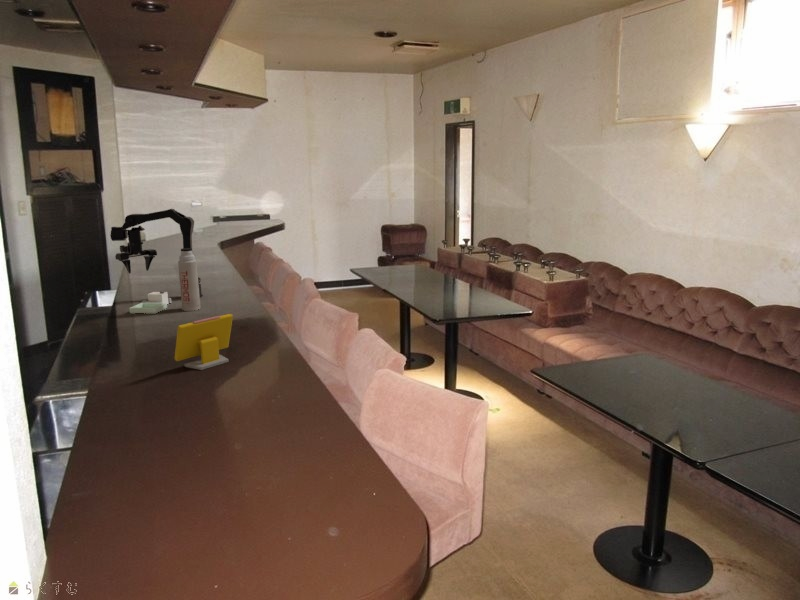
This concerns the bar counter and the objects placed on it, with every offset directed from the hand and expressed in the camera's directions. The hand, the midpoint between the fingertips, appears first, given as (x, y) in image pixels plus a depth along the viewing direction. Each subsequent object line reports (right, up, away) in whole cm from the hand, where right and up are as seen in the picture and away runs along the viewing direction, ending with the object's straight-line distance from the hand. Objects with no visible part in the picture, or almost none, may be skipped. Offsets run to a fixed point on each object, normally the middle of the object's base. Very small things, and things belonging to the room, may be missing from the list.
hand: (138, 271), depth 306 cm
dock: (+14, -16, -11) cm, 24 cm away
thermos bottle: (+32, -18, -19) cm, 42 cm away
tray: (+14, -19, -22) cm, 32 cm away
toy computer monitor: (+64, -35, -97) cm, 122 cm away
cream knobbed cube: (+14, -16, -11) cm, 25 cm away
